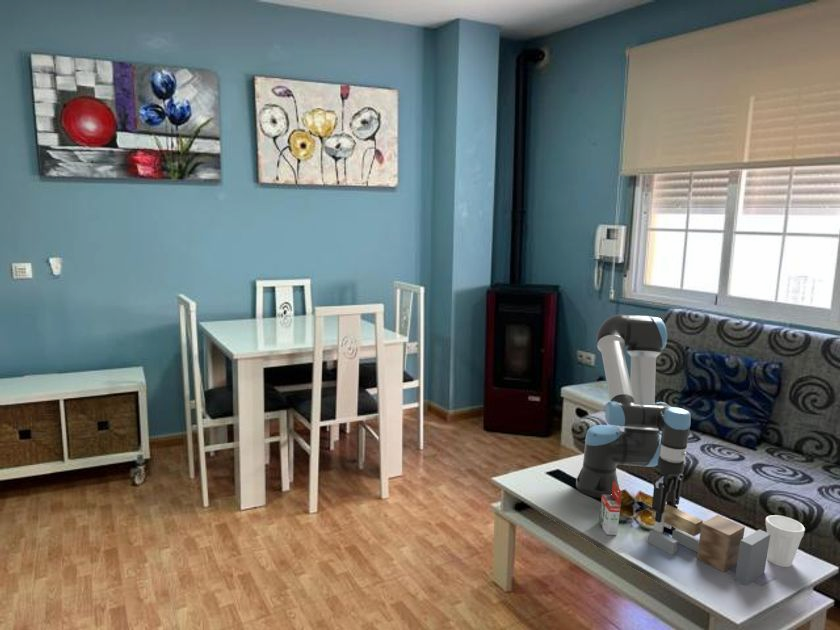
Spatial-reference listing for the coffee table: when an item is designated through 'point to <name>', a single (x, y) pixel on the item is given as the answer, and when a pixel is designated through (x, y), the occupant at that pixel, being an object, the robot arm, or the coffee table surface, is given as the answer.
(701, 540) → the block
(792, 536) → the cup
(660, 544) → the pedestal
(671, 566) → the coffee table surface
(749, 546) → the base
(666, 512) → the bar
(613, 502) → the ink box
